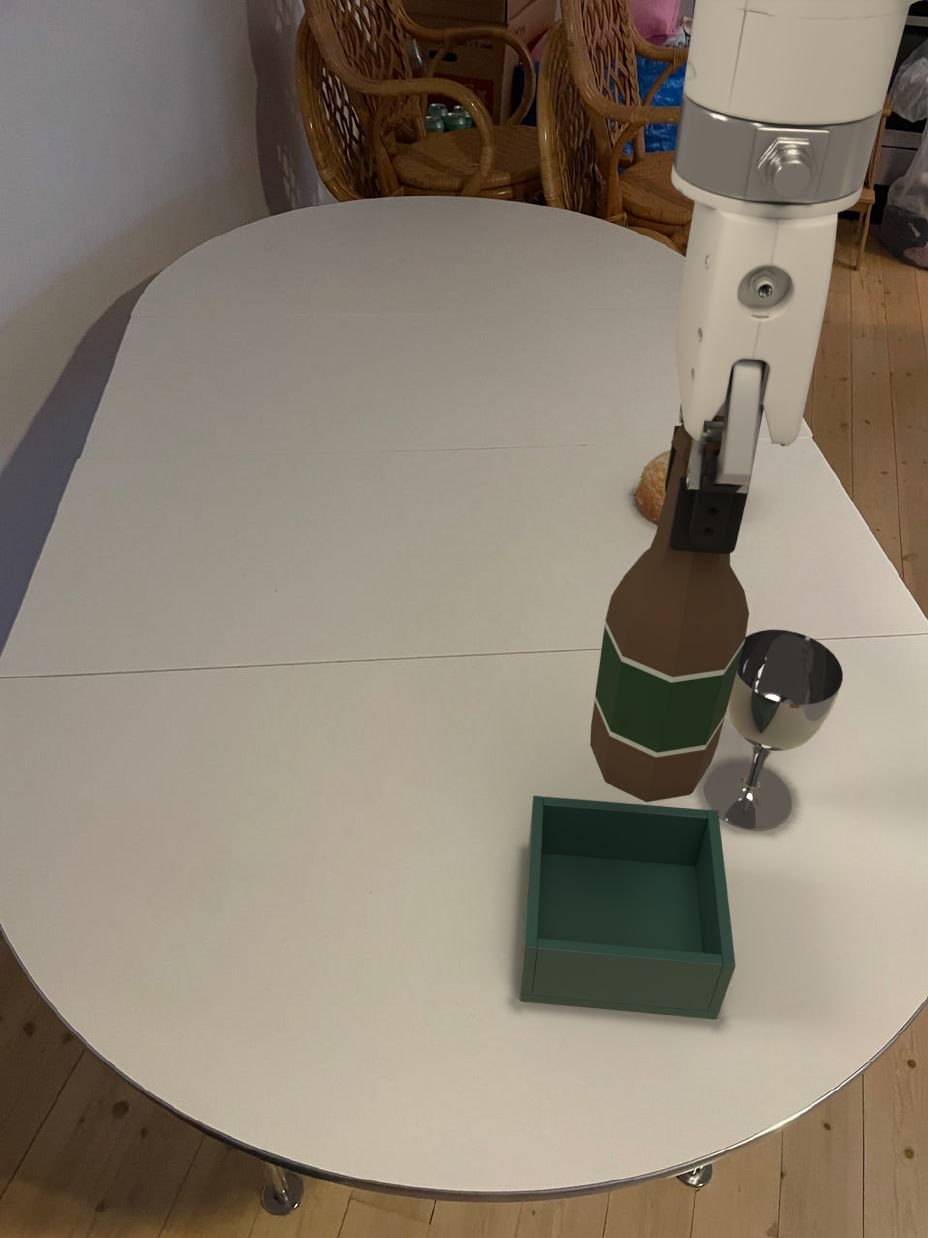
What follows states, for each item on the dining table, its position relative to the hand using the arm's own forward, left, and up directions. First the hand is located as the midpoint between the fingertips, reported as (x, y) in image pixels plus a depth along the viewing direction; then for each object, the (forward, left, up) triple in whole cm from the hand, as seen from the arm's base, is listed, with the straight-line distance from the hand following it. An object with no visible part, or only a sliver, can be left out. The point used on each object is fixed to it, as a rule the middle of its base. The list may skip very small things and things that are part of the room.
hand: (698, 518), depth 53 cm
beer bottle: (0, 0, -19) cm, 19 cm away
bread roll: (-8, -54, -37) cm, 66 cm away
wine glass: (-11, -13, -37) cm, 40 cm away
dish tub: (0, +1, -37) cm, 37 cm away
